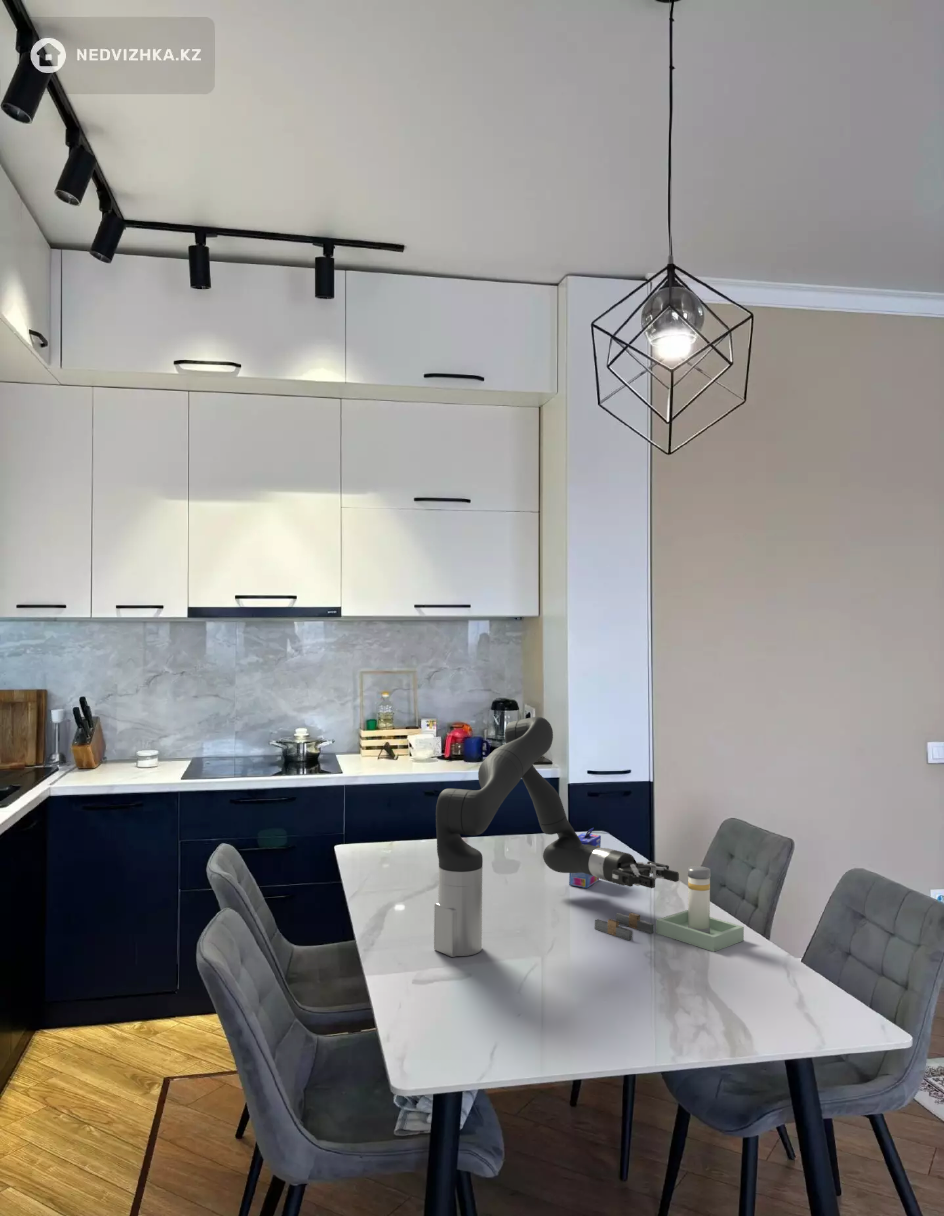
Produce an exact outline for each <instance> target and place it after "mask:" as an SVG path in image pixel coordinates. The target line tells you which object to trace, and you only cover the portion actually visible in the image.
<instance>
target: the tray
mask: <svg viewBox="0 0 944 1216" xmlns="http://www.w3.org/2000/svg"><path fill="white" fill-rule="evenodd" d="M655 924H656V925H655V926H656V929H655V930H656V931H655V932H656V934H658V935H661V936H664V937H666V938H670V939H673V940H675V941H676V940H677V941H680V942H682V943H685V944H688V945H691V946H695V947H698V948H701V949H704V950H707V951H710V952H713V953H714V952H716V951H719V950H723V949H725V948H728V947H730V946H733V945H735V944H738V943H741V942H743V941H745V940H744V939H745V937H744V935H745V934H744V933H745V932H744V930H745V926H744V925H743V926H742V925H739V924H736V923H732V922H729V921H726V920H722V919H719V918H715V917H711V916H710V934H707V933H704V932H701V931H698V930H694V929H691V928H688V910H687V909H685V910H682V911H680V912H677V913H673V914H670V915H667V916H662V917H660V918H656V923H655Z"/></svg>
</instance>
